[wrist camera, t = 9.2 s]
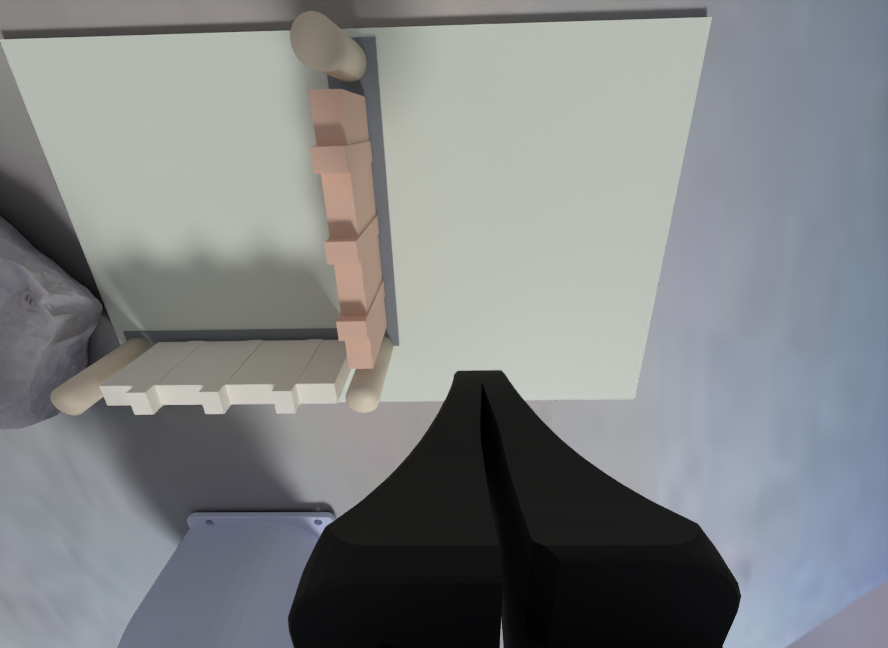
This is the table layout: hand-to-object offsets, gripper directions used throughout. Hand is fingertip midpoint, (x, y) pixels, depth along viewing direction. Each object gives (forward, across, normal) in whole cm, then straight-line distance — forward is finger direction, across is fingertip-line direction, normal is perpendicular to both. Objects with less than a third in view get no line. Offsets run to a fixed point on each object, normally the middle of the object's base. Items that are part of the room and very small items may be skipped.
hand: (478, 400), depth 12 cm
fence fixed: (+9, +11, +3) cm, 15 cm away
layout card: (+9, +4, -2) cm, 11 cm away
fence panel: (+9, +5, -4) cm, 11 cm away
